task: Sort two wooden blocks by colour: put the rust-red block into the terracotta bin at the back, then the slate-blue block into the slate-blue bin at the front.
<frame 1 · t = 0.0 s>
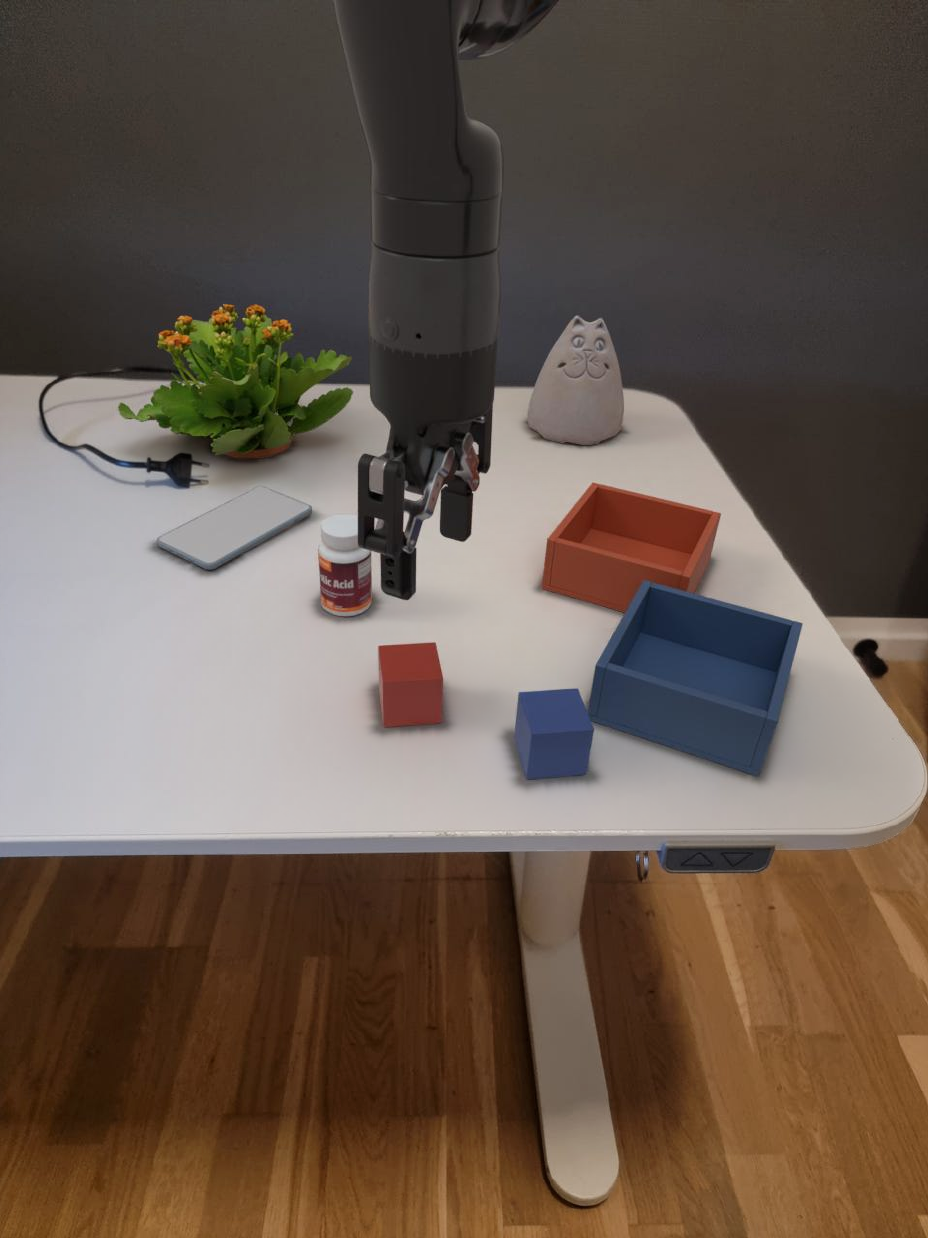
hand: (428, 564, 59), 15 cm above the table, tool pointing down, fingers open, 8 cm apart
smartphone: (237, 531, 91), on the table
terracotta bin: (628, 574, 87), on the table
red block: (409, 706, 69), on the table
blue block: (549, 755, 66), on the table
slate bin: (689, 696, 72), on the table
pill bottle: (346, 605, 81), on the table
potted flower: (260, 444, 109), on the table
sculpture: (573, 430, 117), on the table
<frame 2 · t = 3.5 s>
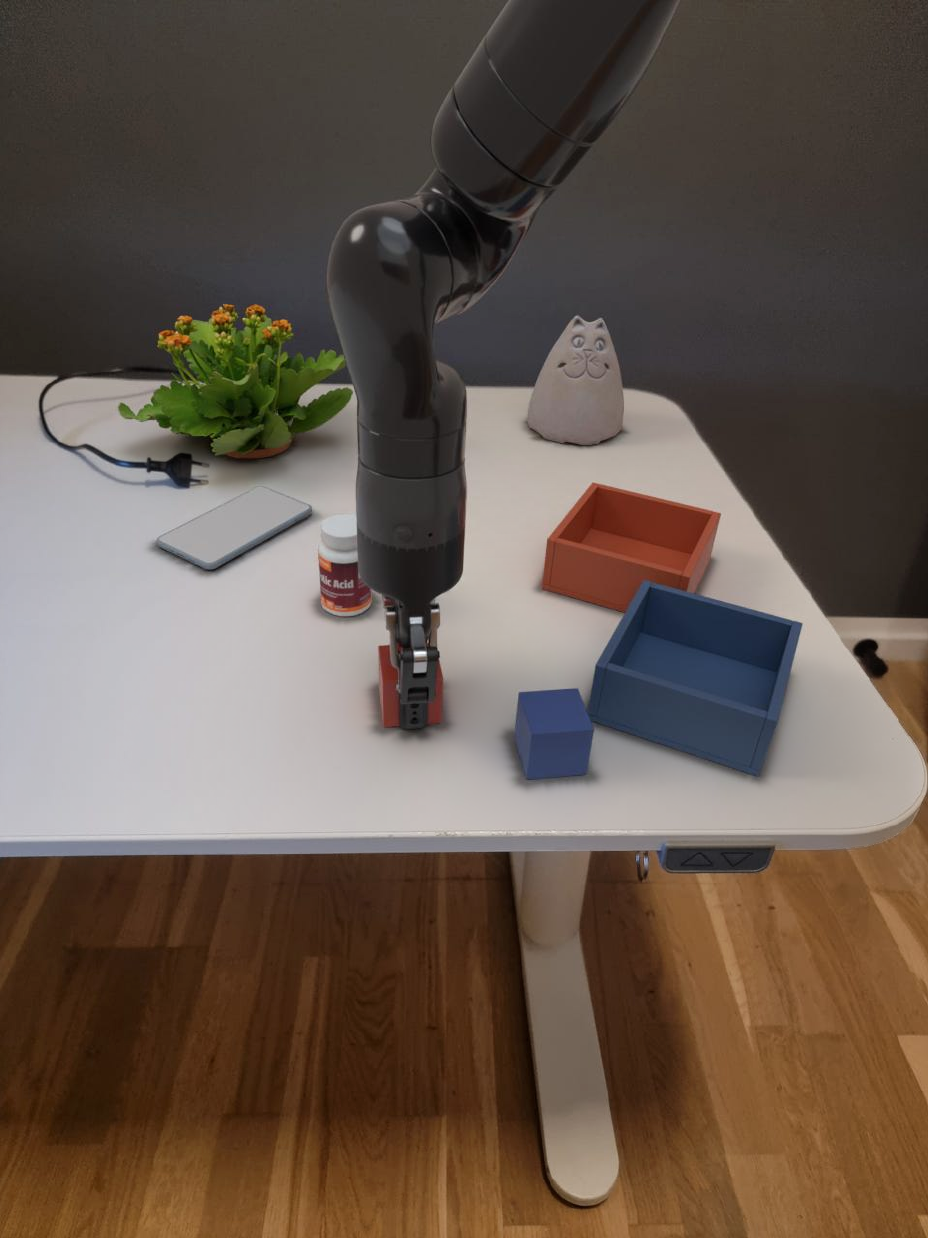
hand: (409, 702, 69), 0 cm above the table, tool pointing down, fingers closed on red block, 4 cm apart
red block: (409, 706, 69), on the table, touching gripper
everything else where it was.
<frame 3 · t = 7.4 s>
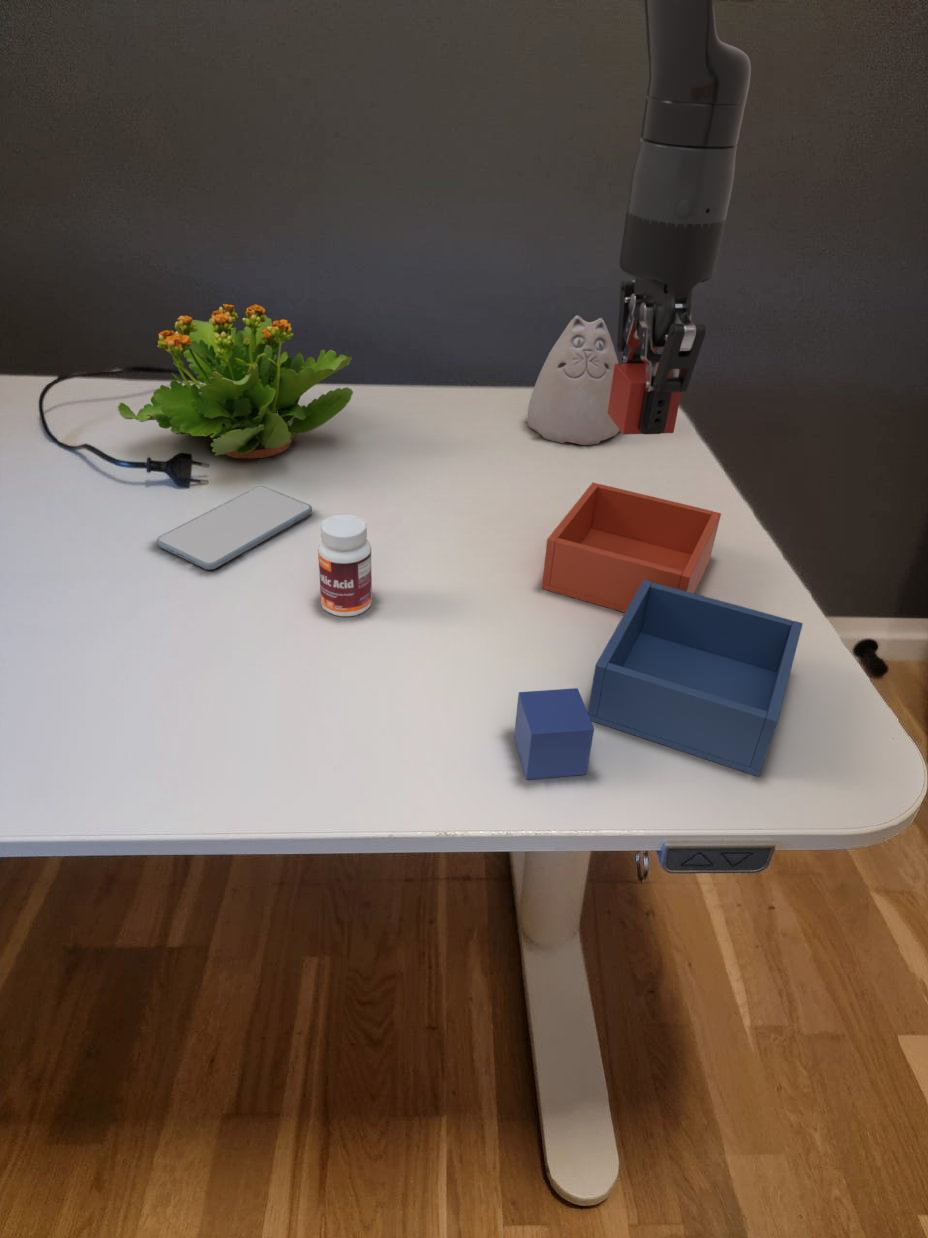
hand: (640, 419, 76), 17 cm above the table, tool pointing down, fingers closed on red block, 4 cm apart
red block: (639, 423, 76), point 17 cm above the table, touching gripper
everything else where it was.
when the fingers open (1 cm above the table, at t = 11.6 s): red block stays where it is, resting on terracotta bin.
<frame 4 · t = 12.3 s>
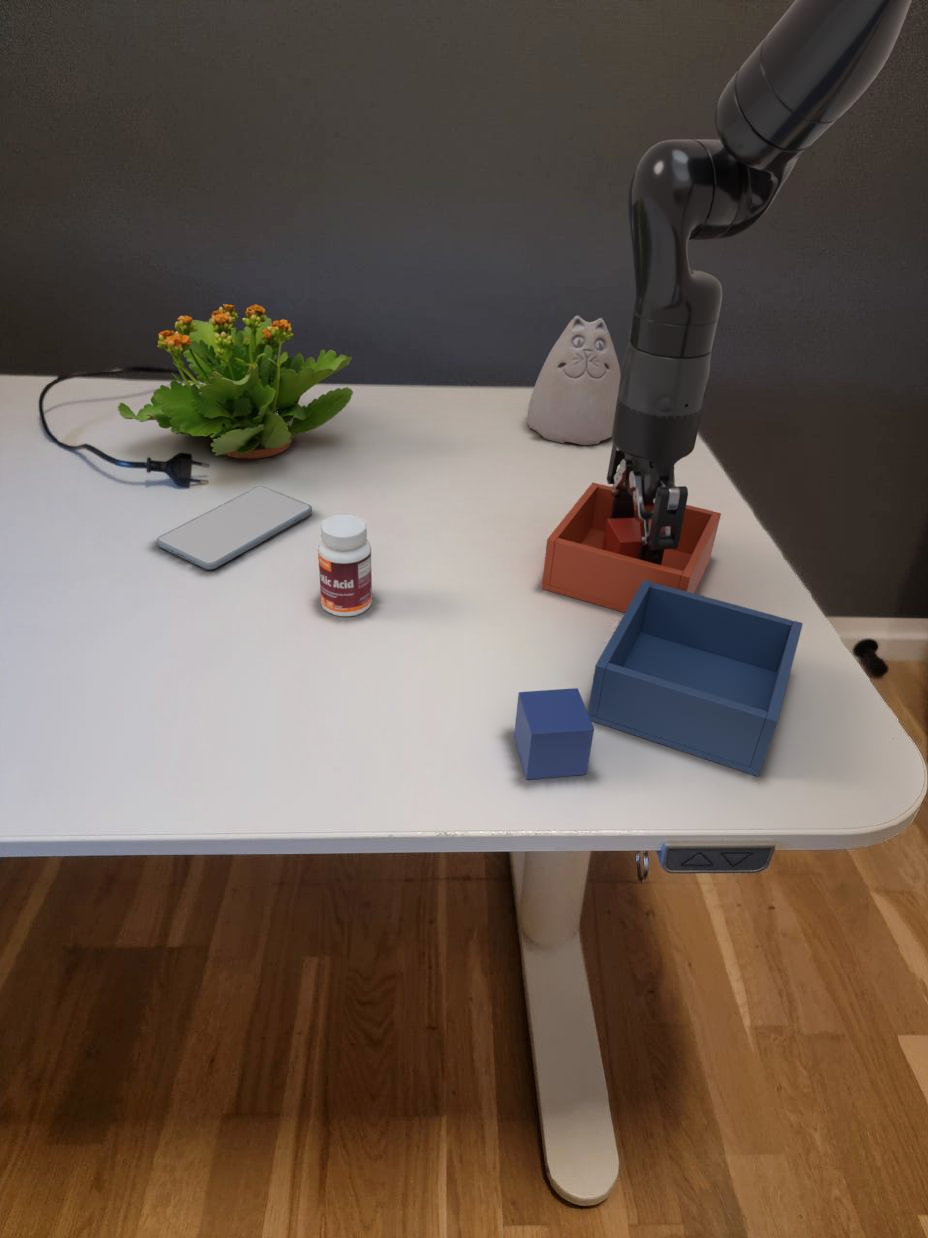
hand: (632, 553, 86), 2 cm above the table, tool pointing down, fingers open, 8 cm apart
red block: (629, 569, 87), point 1 cm above the table, touching terracotta bin
everything else where it was.
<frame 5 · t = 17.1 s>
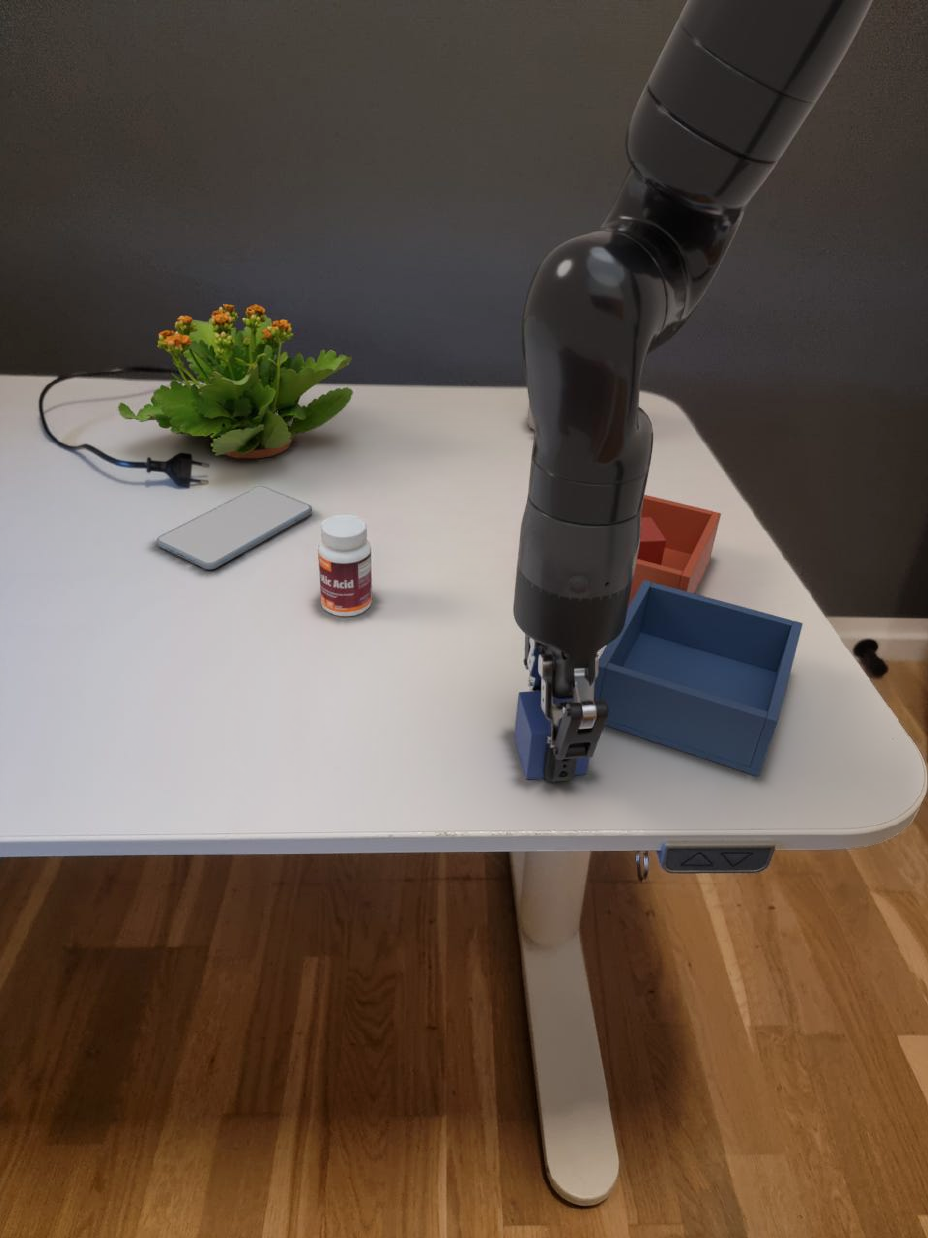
hand: (549, 751, 65), 0 cm above the table, tool pointing down, fingers closed on blue block, 4 cm apart
blue block: (549, 755, 66), on the table, touching gripper
everything else where it was.
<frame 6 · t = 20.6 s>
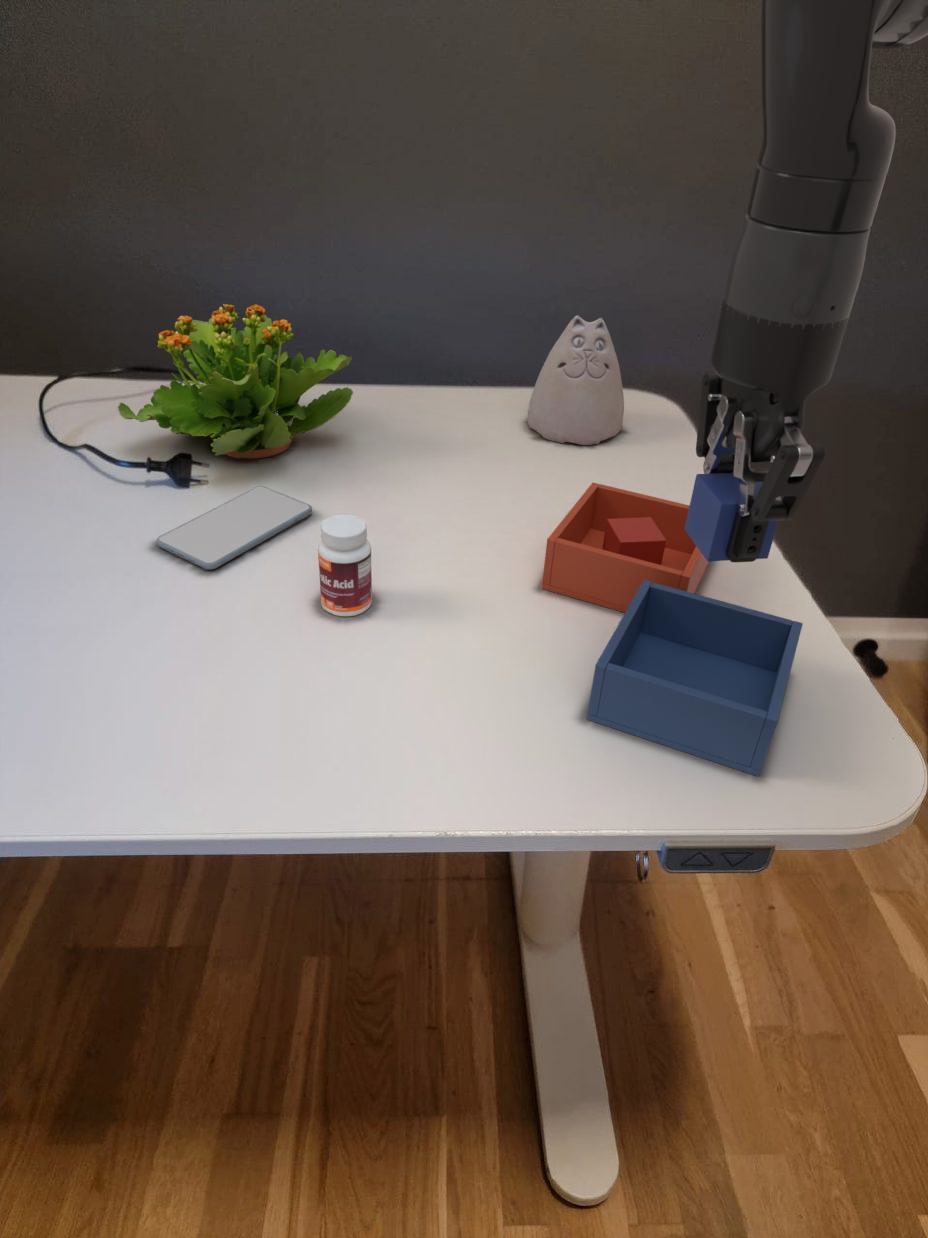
hand: (726, 539, 63), 15 cm above the table, tool pointing down, fingers closed on blue block, 4 cm apart
blue block: (724, 543, 63), point 15 cm above the table, touching gripper
everything else where it was.
when the fingers open (1 cm above the table, at t = 24.3 s): blue block stays where it is, resting on slate bin.
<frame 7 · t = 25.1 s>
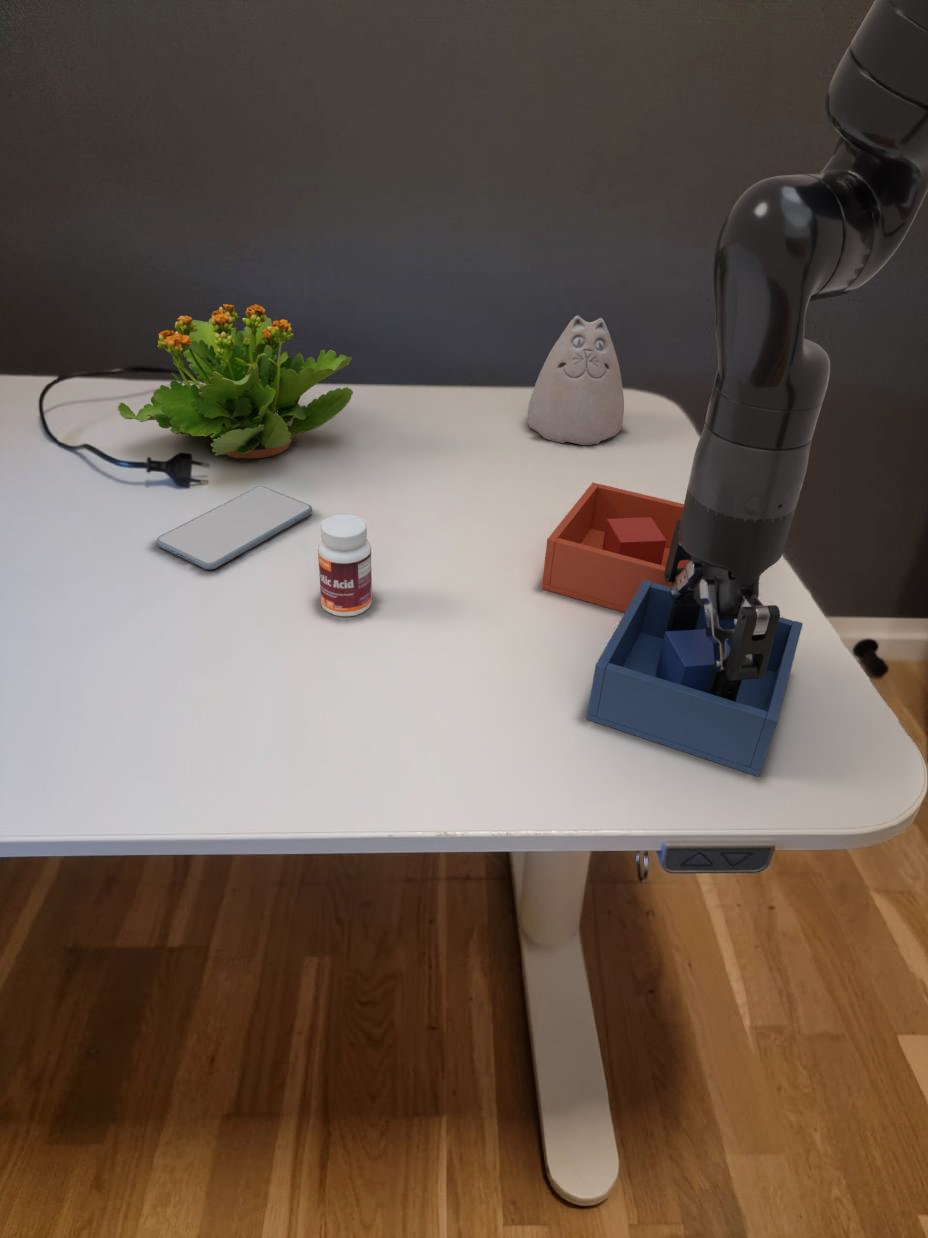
hand: (697, 669, 70), 3 cm above the table, tool pointing down, fingers open, 8 cm apart
blue block: (690, 690, 72), point 1 cm above the table, touching slate bin
everything else where it was.
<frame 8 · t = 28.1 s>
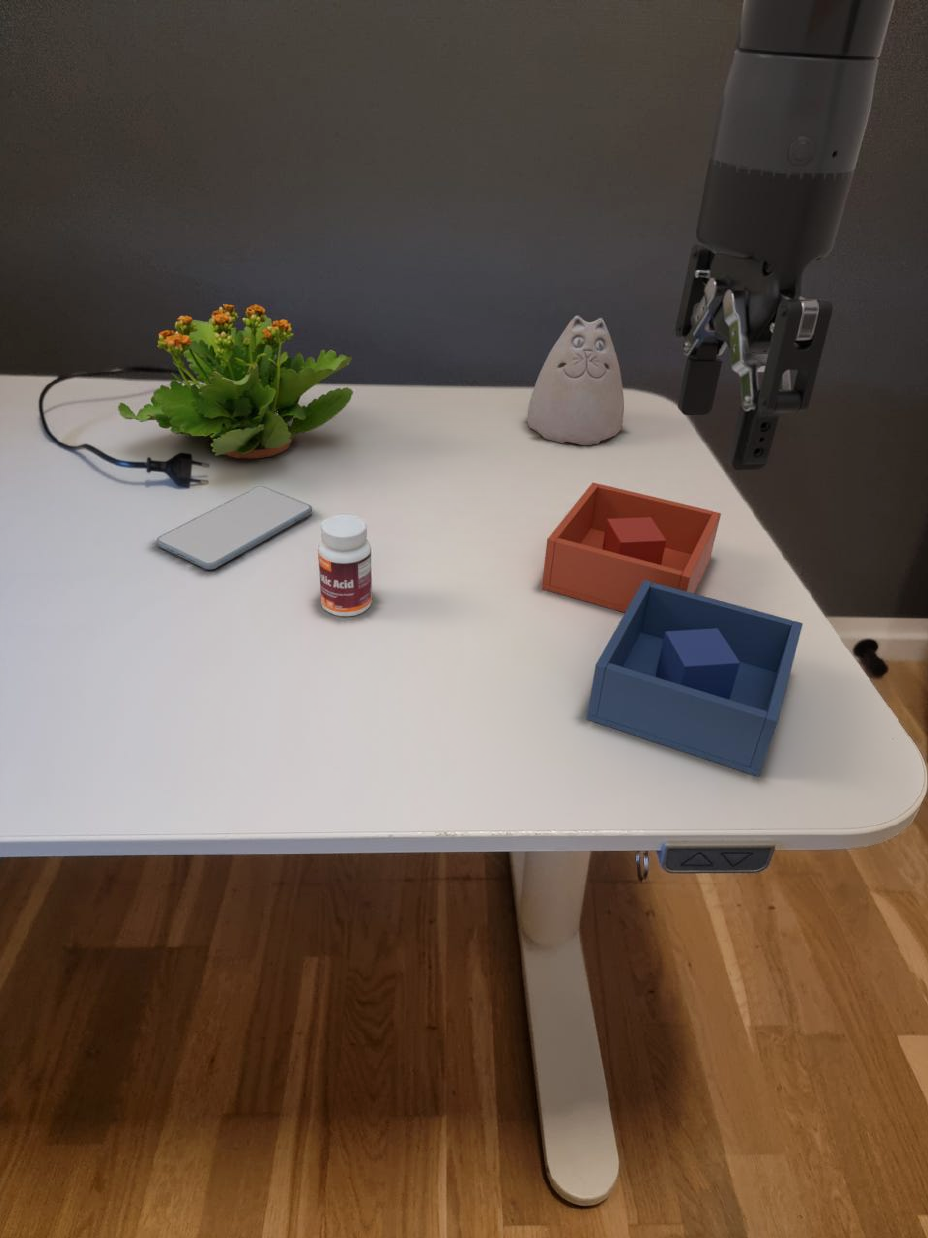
hand: (717, 438, 56), 24 cm above the table, tool pointing down, fingers open, 8 cm apart
nothing on the table moved.
at the end: red block inside the target area in the terracotta bin (0.0 cm from its centre), point 0.6 cm above the terracotta bin's base; blue block inside the target area in the slate bin (0.0 cm from its centre), point 0.6 cm above the slate bin's base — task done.
